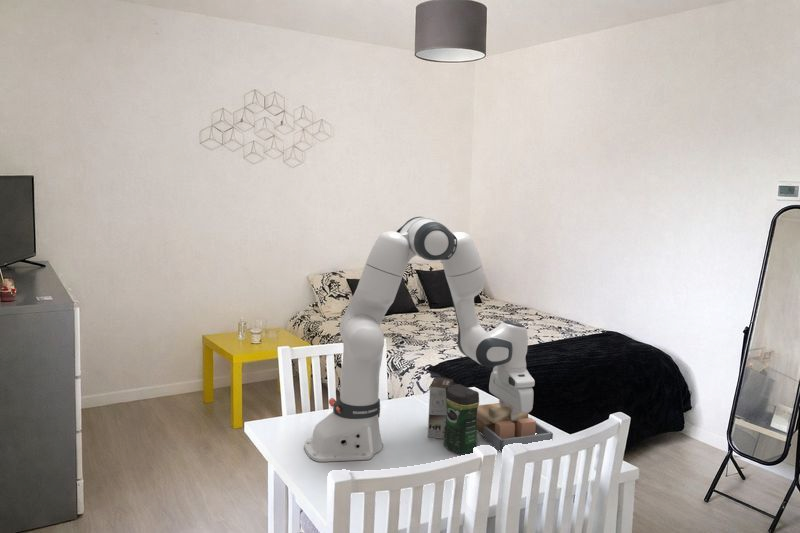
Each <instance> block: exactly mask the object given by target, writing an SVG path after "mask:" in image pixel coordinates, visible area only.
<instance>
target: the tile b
mask: <svg viewBox="0 0 800 533" xmlns="http://www.w3.org/2000/svg"><path fill="white" fill-rule="evenodd" d="M536 423H537V420H535V419H533V418H532V417H529V418H526V419H518V420H517V423H516V436H518V437H522V436H529V435H535V431H536Z"/></svg>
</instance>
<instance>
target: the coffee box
mask: <svg viewBox="0 0 800 533" xmlns="http://www.w3.org/2000/svg"><path fill="white" fill-rule="evenodd" d="M451 385H454V379H452V378H439V377H433V380H432V381H431V384H430V385H429V386H430V387H429V401H428V402H429V403H428V423H427V437H428V438H435V439H442V440H444V435H445V427H446V416H447V403H446V393H447V389H448V387H449V386H451Z"/></svg>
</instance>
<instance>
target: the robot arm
mask: <svg viewBox="0 0 800 533" xmlns="http://www.w3.org/2000/svg"><path fill="white" fill-rule="evenodd" d="M373 244H374V245H373V246H372V247H371V249H370V251H369V254H368V257H367V258H366V262H365V265H364V266H363V269H362V270H363V271H362V272H361V276H360V278H359V281H358V284H357V287H356V290H355V291H354V293H353V295H352V298H351V299H350V301H349V303H348V305H347V306H346V309H345V311H344V314H343V316H342V318H341V320H340V323H339V335H340V336H341V340H342V345H343V353H342V354H343V355H342V361H341V362H342V363H341V364H342V365H341V370H340V386H339V387H340V391H339V394H340V396H339V398H338V399H337V400H336V399H335V398H333V397H331V398H329V399H328V404H329V406H330V407H332V412H331V413H329V414H328V415H327V416H325V417H324V418H323V419H322V420H321V421H319V422H318V423H316V425H315V426H314V429H313V432H312V433H313V434H312V437H310V438H307V439H306V440H305V441H304V451H305V454H306V455H307V456H308V457H309V458H310V459H311V460H313V461H316V462H322V463H323V462H325V463H326V462H341V461H343V462H345V461H346V462H347V461H365V460H367V461H368V460H371V459H372V458H373V457H374V456H375V454H377V453H379V452H380V451H382V449H383V446H384V444H383V442H382V437H381V432H380V422H379V420H380V419H379V418H380V415H381V414H380V413H381V399H380V398H379V394H380V393H379V392H380V372H381V366H382V360H383V353H384V346H385V335H384V330H382V328H381V324H382V322H383V320H384V318H385V315H386V314H387V312H388V310H390V307H391V306H392V304H393V303H394V301H395V299H396V296H397V293H398V291H399V288H400V285H401V282H402V279H403V277H404V274H405V271H406V267H407V265H408V264H409V262H410V261H411V260H412V259H413V258H414V257H416V256H417V257H419V258H422V259H424V260H428V261H440V262H441V264H442V267H443V270H444V275H445V279H446V281H447V284H448V288H449V291H450V294H451V298H452V304H453V309H454V314H455V317H456V322H457V329H458V332H457V339H456V342H457V348H458V349H459V350H458V351H460V352H461V354H463V355H464V356H465V357H467V358H470V359H471V360H473V361H474V362H476V363H477V364H479V365H481V366H483V367H485V368H492V371H491V373H490V378H489V384H488V390H489V393H491V395H493V396H494V397H497V398H498V403H500V407H507V405H506V403H507V404H508V405H510V406H511V410H512V412H511V413H509V418H510V419H511V420H516V417H517V413H518V412H520V413H528V414H529V413H531V412H532V410H533V408H534V407H533V405H534V389H533V387H535V384H536V383H535V382H536V381H535V379H534V378H533V377H532V375H531V374H530V372H529V371H528V369H527V361H526V355H527V354H528V340H529V339H528V338H529V337H528V336H529V335H528V330H527V328H526V327H525V325H523V324H522V323H519V322H516V321H513V320H502V321H501V322H500V324H499V325H498V326H496V327H495V328H493V329H492V330H489V331H487V330H486V329H485V328H483V326H482V325H481V324H480V323H479V319H478V314H477V310H476V305H475V297H477V296H478V295H479V294H481V292H483V289H484V288H485V286H486V275H485V271H484V266H483V264H482V263H483V262H482V261H481V260H482V259H481V257H480V254H479V251H478V249H477V246H476V244H475V243H474V240H473V238H472V236H471V235H470V234H468V233H467V232H464V231H453V232H452V231H450V229H449V228H448V227H446V225H444V224H442V223H441V222H438V221H436V220H435V219H433V218H430V217H424V216H416V217H415V216H414V217H412V218H410V219H408V220H407V221H405V223H404V224H403V225H402V226H400V228H398V229H397V230H396V231H394V230H387V231H384V232H382V233H381V234H379V236H378V237H377V239H376V241H375V242H374V243H373Z"/></svg>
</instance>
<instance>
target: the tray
mask: <svg viewBox="0 0 800 533" xmlns="http://www.w3.org/2000/svg"><path fill="white" fill-rule="evenodd" d="M535 433H537V434H536V435H529V436H522V437H518V436H516V432H514V438H507V439H502V438H500V437H499V436H498V435H496V434H495V433H494V432H493V431H491V430H490V429H489V428H488V427H486V426H484V429H483V435H482V438H483V439H484V438H485V439H486V441H487V442H488V443H489V444H490V443H491V444H492V445H491V444H490V445H491V446H493V447H494V446H495V447H494V448H495V449H496V450H498V451H499V450H500V451H501V452H500V451H499V452H500V453H503V452H502V449H503V447H504V446H505V445H508V444H513V443H522V444H528V443H532V442H538V441H543V440H550V439H552V440H553V436H554V434H553V432H552V431H550V430H548V429H547V428H546V427H544V426H542V425H541V424H540V423H538V422H536V431H535ZM485 439H484V440H485Z"/></svg>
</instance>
